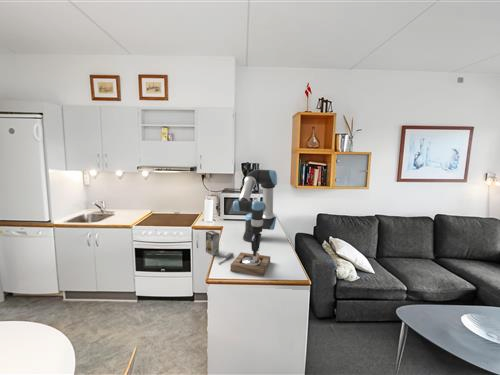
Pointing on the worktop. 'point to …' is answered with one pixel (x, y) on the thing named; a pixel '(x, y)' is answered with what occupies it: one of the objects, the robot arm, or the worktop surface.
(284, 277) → the worktop surface
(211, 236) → the coffee box
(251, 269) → the housing
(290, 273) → the worktop surface
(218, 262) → the screwdriver
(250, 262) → the dial
